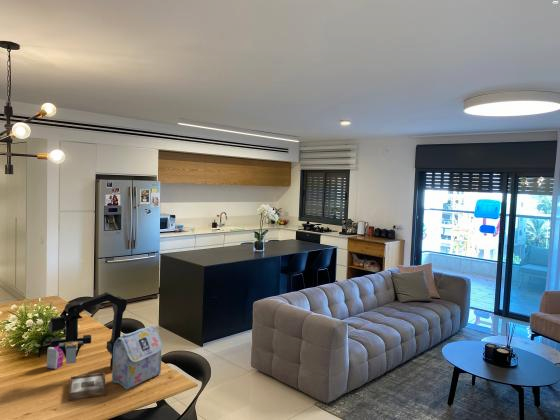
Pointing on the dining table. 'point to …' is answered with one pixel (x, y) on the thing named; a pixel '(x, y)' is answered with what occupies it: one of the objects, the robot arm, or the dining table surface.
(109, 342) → the robot arm
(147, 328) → the lunch bag
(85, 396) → the shallow tray
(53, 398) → the dining table surface
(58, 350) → the supplement box
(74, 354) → the peg
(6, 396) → the dining table surface
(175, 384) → the dining table surface
